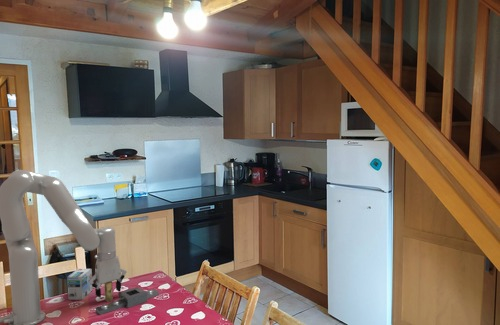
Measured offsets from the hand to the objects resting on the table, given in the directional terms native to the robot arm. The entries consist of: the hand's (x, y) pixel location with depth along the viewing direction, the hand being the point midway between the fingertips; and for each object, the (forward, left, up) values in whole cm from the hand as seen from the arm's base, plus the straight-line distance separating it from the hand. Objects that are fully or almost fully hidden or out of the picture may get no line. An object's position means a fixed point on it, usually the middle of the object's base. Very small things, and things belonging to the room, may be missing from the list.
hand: (108, 293), depth 166 cm
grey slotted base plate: (+5, -9, -3) cm, 11 cm away
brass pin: (0, 0, -3) cm, 3 cm away
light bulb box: (-7, +15, -3) cm, 17 cm away
